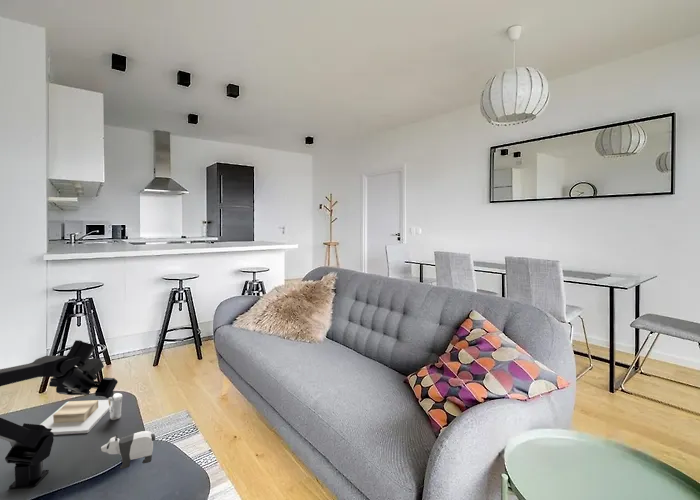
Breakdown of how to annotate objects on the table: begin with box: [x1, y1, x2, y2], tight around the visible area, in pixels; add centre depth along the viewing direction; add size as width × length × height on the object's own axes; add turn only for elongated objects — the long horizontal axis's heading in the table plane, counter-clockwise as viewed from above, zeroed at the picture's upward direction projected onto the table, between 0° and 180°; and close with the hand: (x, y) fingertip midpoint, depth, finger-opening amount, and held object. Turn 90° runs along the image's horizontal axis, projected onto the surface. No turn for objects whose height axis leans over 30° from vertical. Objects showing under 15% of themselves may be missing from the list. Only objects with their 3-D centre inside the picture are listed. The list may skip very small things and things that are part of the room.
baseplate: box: [39, 399, 110, 436], centre depth 137 cm, size 22×18×1 cm
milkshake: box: [107, 392, 123, 421], centre depth 137 cm, size 4×5×10 cm
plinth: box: [53, 399, 99, 423], centre depth 137 cm, size 10×10×3 cm
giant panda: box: [99, 430, 156, 470], centre depth 113 cm, size 15×6×10 cm, turn 117°
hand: (100, 394), depth 130 cm, fingers open, 9 cm apart
